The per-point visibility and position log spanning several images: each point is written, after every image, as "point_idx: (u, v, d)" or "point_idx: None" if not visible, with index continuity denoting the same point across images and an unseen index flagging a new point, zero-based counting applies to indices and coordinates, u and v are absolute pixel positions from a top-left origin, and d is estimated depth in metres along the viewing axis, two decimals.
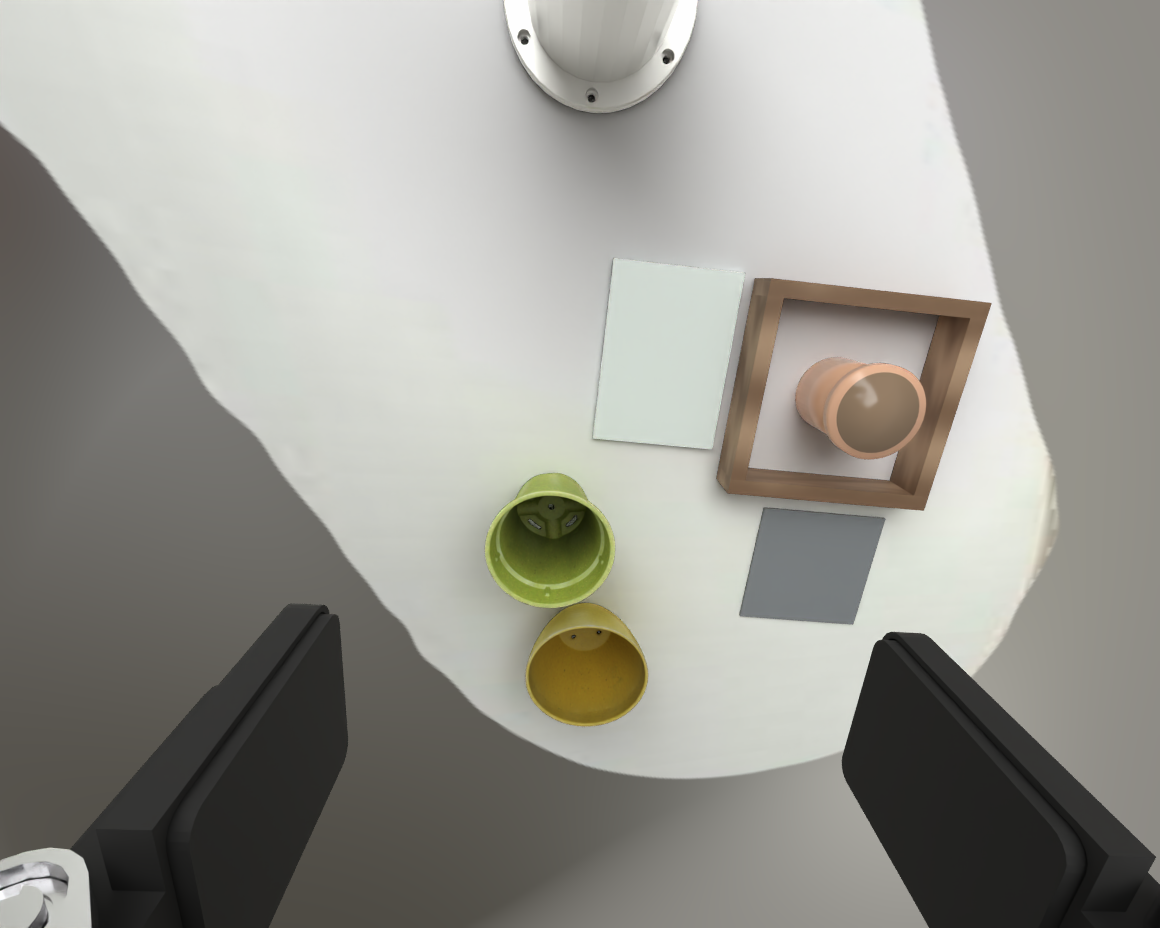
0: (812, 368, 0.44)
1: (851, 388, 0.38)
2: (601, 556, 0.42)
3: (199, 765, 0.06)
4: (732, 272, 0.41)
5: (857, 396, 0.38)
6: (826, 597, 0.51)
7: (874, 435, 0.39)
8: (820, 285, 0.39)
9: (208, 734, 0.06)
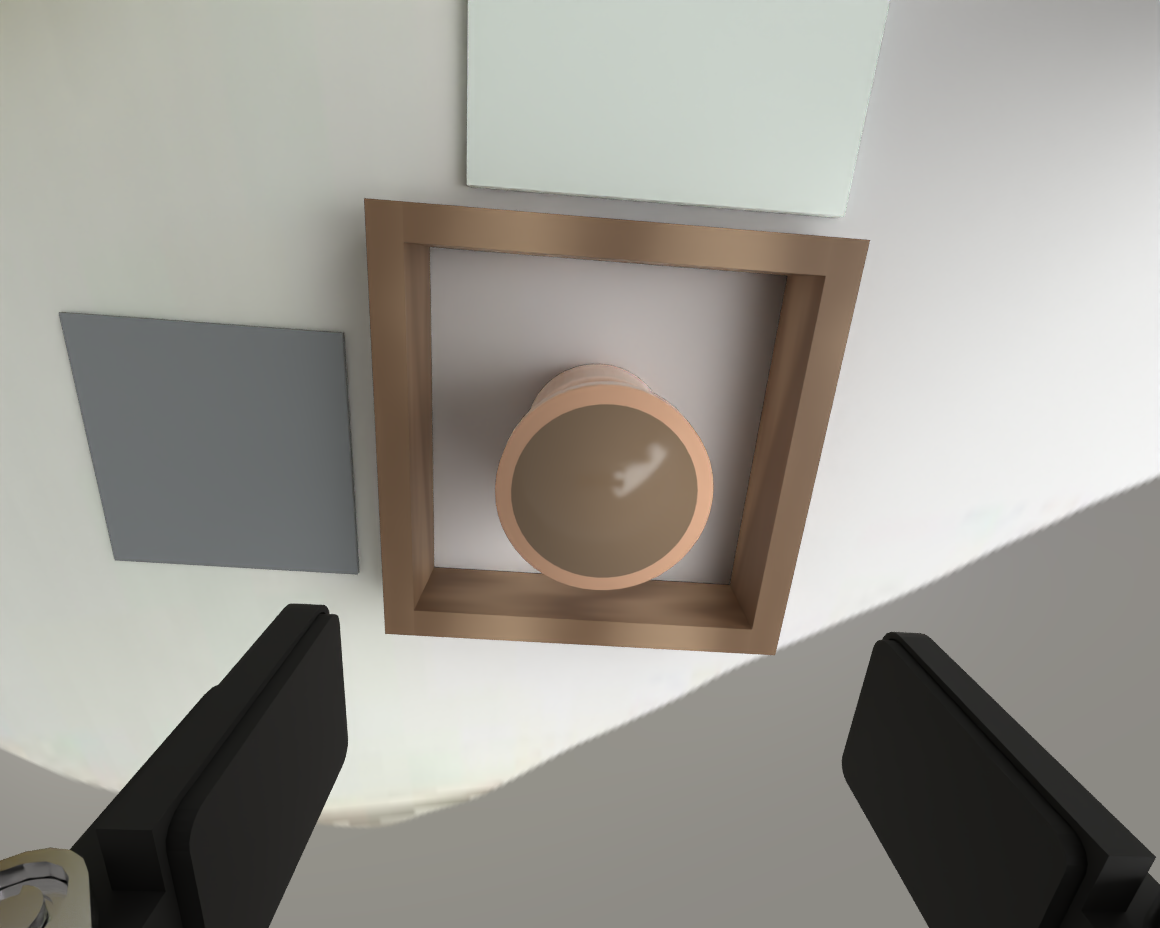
0: (647, 386, 0.23)
1: (663, 426, 0.16)
2: None
3: (201, 765, 0.06)
4: (848, 186, 0.20)
5: (643, 444, 0.17)
6: (162, 497, 0.24)
7: (553, 498, 0.17)
8: (841, 351, 0.19)
9: (208, 734, 0.06)
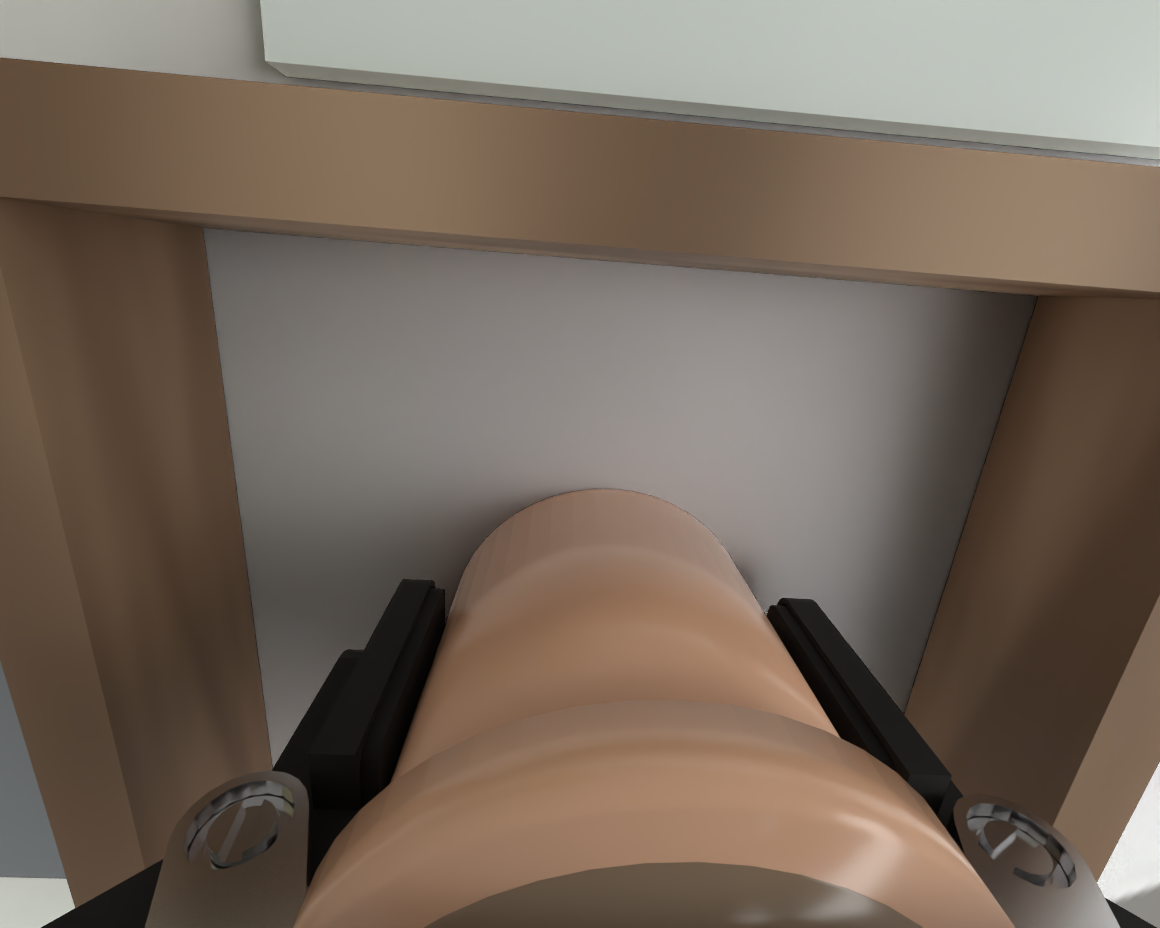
0: (713, 537, 0.10)
1: (898, 927, 0.04)
2: None
3: (376, 707, 0.07)
4: None
5: None
6: None
7: None
8: None
9: (374, 683, 0.07)
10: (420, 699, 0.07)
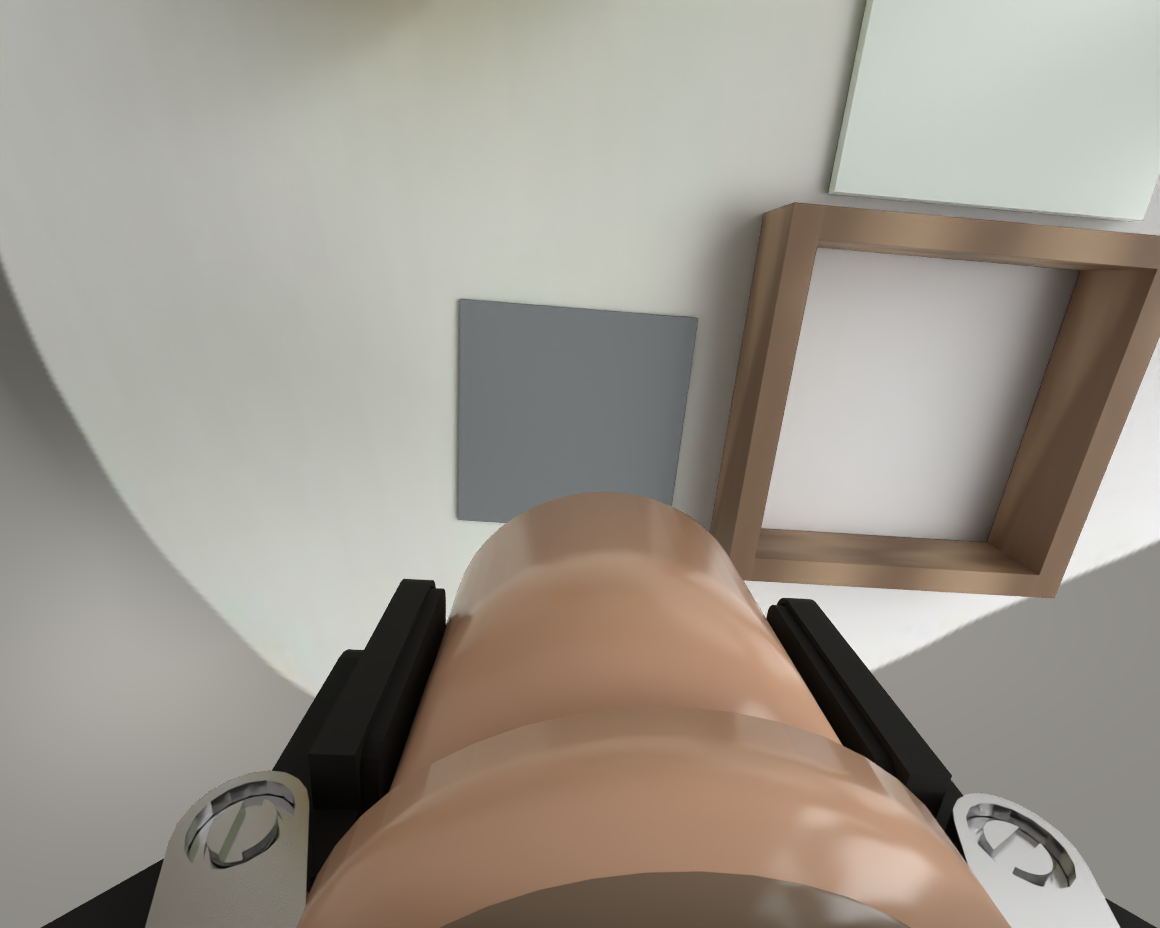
0: (713, 540, 0.10)
1: None
2: None
3: (376, 707, 0.07)
4: (1150, 195, 0.24)
5: None
6: (512, 463, 0.28)
7: None
8: (1158, 332, 0.23)
9: (374, 683, 0.07)
10: (420, 704, 0.07)
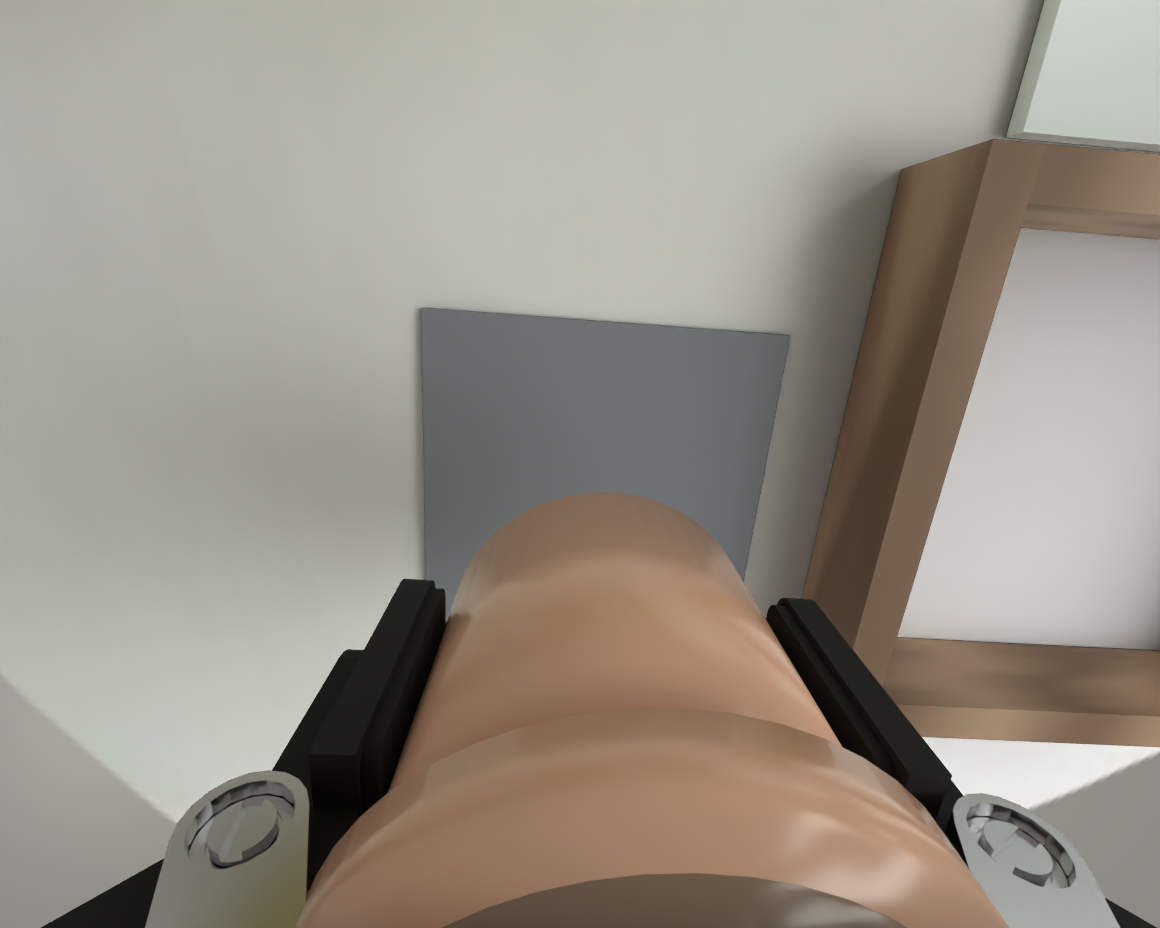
0: (712, 541, 0.10)
1: None
2: None
3: (375, 707, 0.07)
4: None
5: None
6: None
7: None
8: None
9: (374, 683, 0.07)
10: (419, 704, 0.07)
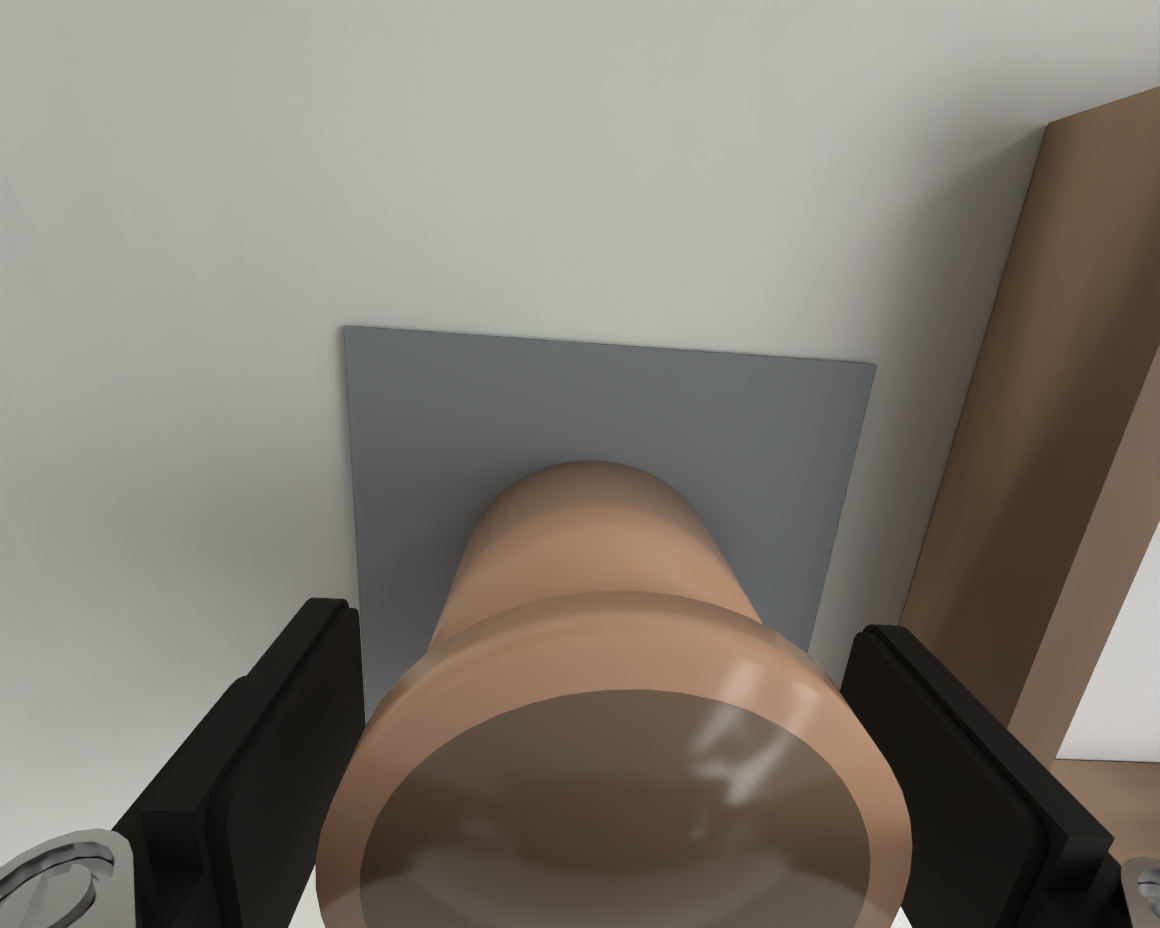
0: (686, 503, 0.12)
1: (790, 742, 0.06)
2: None
3: (235, 751, 0.06)
4: None
5: (729, 785, 0.06)
6: None
7: (478, 908, 0.06)
8: None
9: (241, 722, 0.06)
10: (437, 624, 0.09)
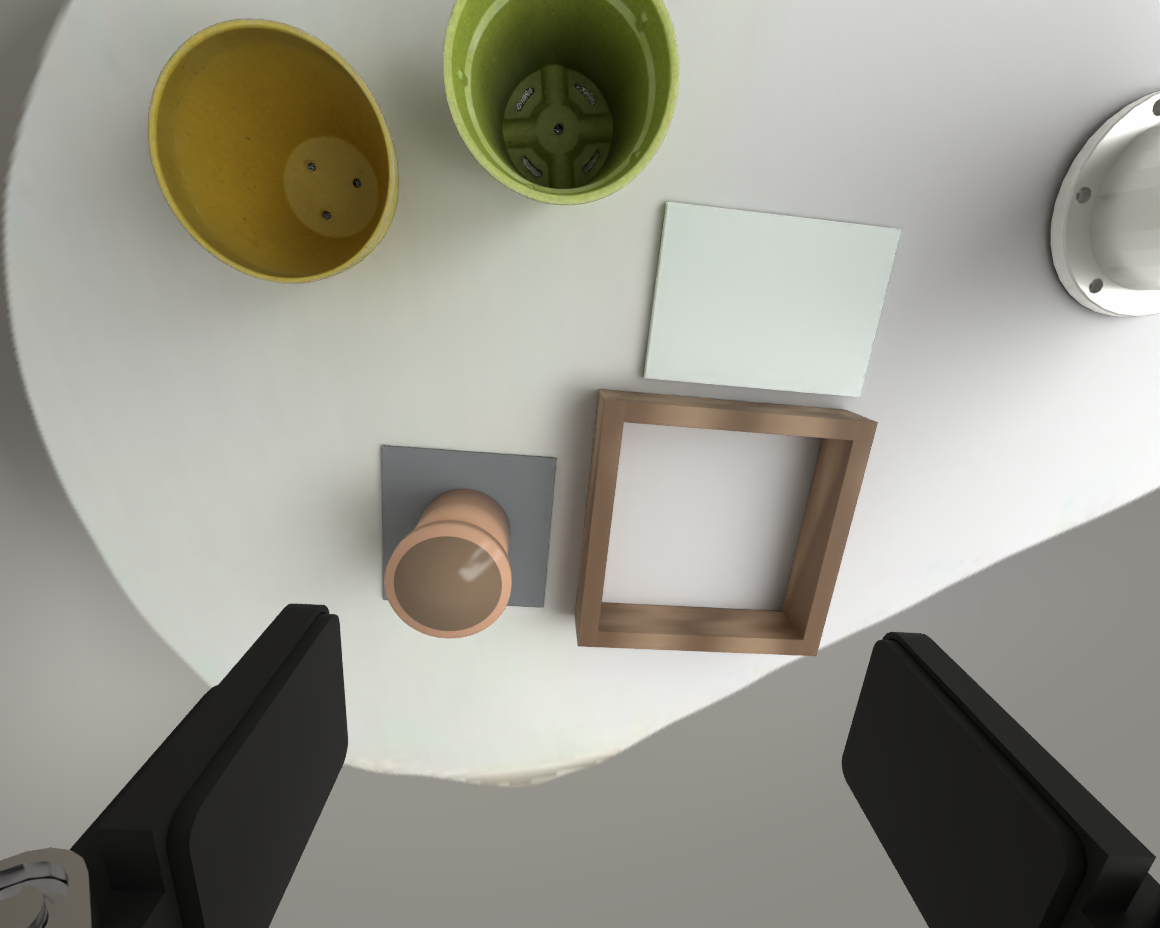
0: (495, 503, 0.36)
1: (479, 547, 0.29)
2: (534, 187, 0.25)
3: (200, 766, 0.06)
4: (862, 381, 0.35)
5: (468, 557, 0.29)
6: None
7: (418, 586, 0.30)
8: (860, 479, 0.34)
9: (208, 734, 0.06)
10: None
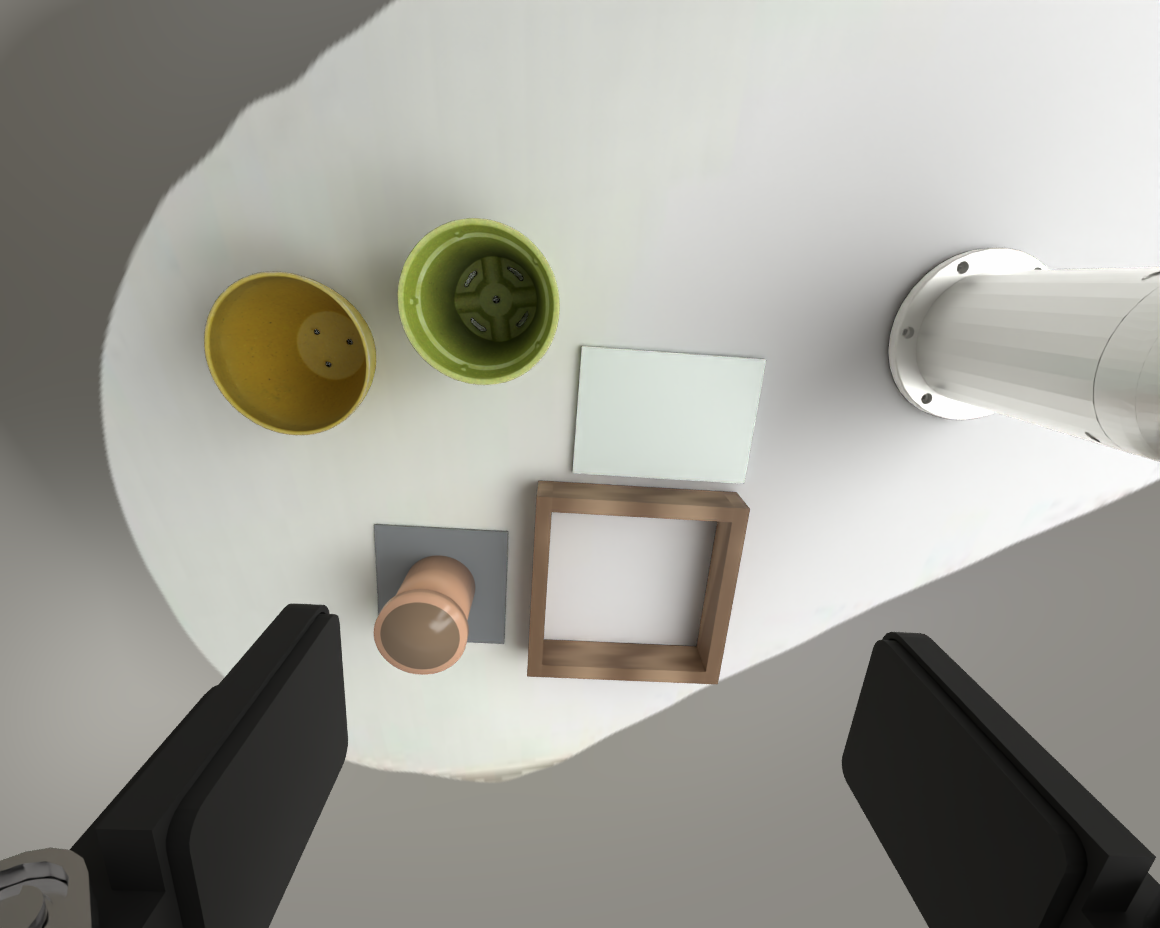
0: (462, 566, 0.46)
1: (441, 610, 0.40)
2: (467, 367, 0.35)
3: (201, 765, 0.06)
4: (745, 472, 0.44)
5: (433, 617, 0.40)
6: None
7: (398, 638, 0.41)
8: (740, 551, 0.43)
9: (209, 734, 0.06)
10: None
